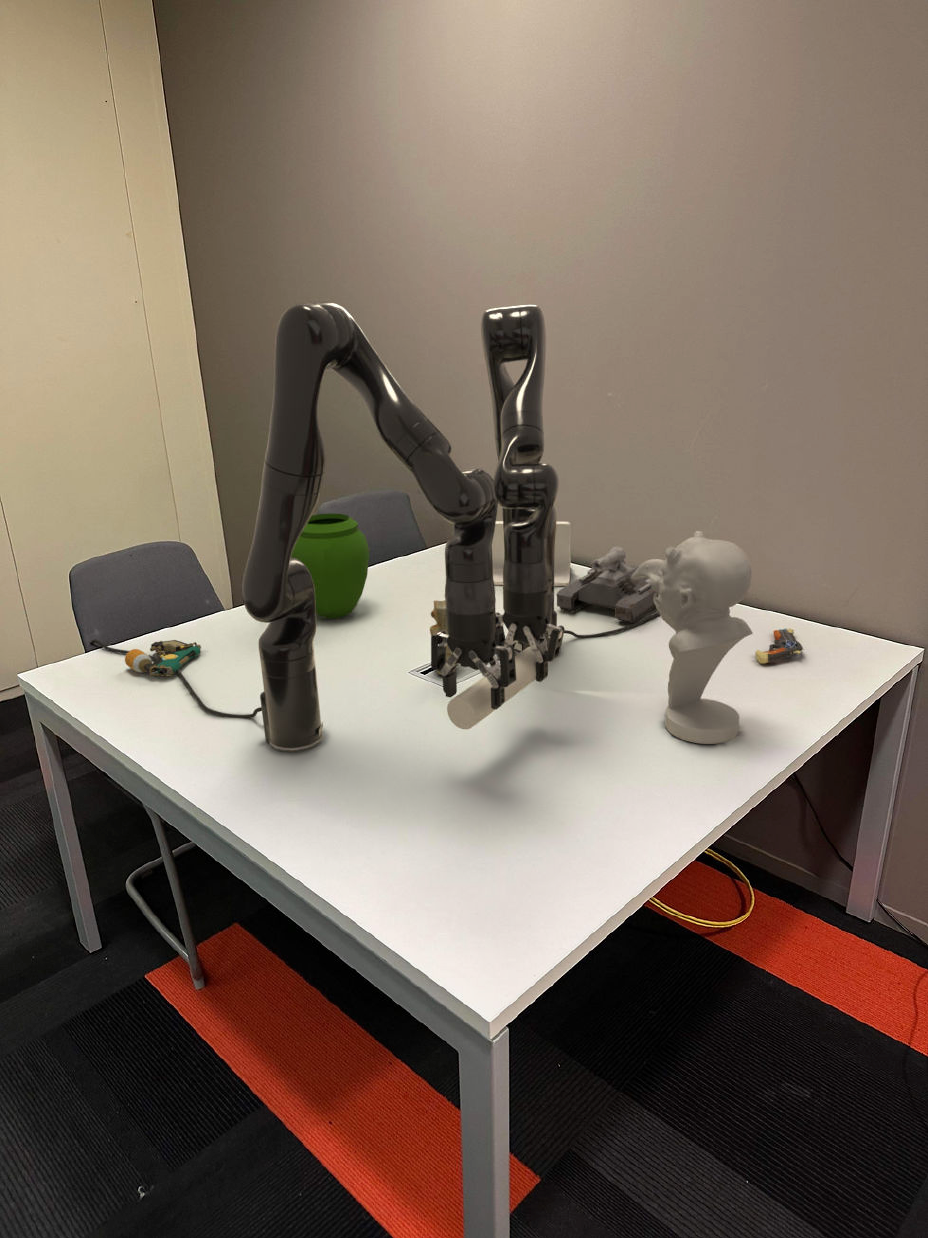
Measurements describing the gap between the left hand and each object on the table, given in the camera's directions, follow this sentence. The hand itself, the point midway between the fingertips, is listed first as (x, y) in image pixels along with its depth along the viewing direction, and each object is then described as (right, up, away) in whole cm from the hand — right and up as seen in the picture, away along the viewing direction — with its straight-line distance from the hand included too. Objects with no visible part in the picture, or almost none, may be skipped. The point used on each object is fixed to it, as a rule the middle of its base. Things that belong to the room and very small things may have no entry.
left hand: (473, 701), depth 134 cm
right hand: (+9, +3, +14) cm, 17 cm away
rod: (+5, -1, +8) cm, 9 cm away
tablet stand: (+16, +25, +105) cm, 109 cm away
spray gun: (-67, +3, +53) cm, 85 cm away
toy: (+37, +16, +80) cm, 90 cm away
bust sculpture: (+38, -6, +21) cm, 44 cm away
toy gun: (+66, +6, +51) cm, 84 cm away
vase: (-34, +14, +80) cm, 88 cm away
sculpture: (-5, +2, +46) cm, 46 cm away
